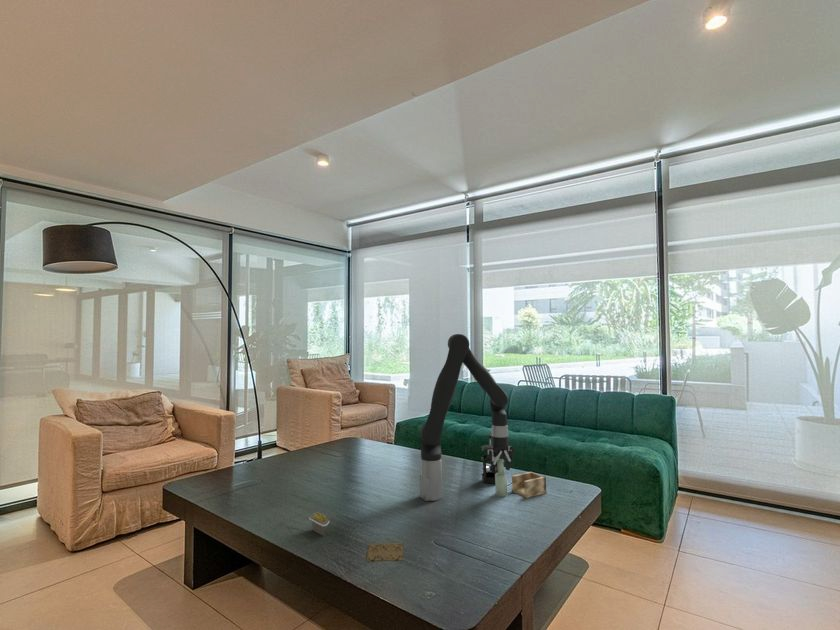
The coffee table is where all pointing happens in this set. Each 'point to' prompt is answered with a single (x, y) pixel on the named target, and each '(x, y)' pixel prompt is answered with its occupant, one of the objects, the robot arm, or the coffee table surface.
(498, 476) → the pale green pin
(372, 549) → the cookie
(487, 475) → the french press
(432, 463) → the robot arm
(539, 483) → the u rest
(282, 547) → the coffee table surface
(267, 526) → the coffee table surface
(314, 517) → the plastic food container
